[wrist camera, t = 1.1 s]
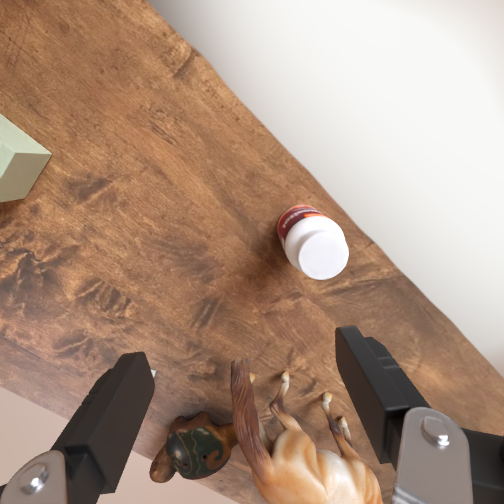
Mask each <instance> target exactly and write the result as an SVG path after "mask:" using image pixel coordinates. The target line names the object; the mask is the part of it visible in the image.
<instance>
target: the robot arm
mask: <svg viewBox="0 0 504 504" xmlns="http://www.w3.org/2000/svg"><path fill="white" fill-rule="evenodd" d="M335 345H336V363H337V367H338V370H339V373H340V375H341V378H342V380H343V382H344V384H345V387H346V389H347V391H348V393H349V396H350V398H351V400H352V402H353V404H354V407H355V409H356V411H357V413H358V416H359V418H360V420H361V422H362V425H363V427H364V429H365V431H366V434H367V436H368V438H369V440H370V442H371V445H372V447H373V449H374V451H375V454H376V456H377V458H378V460H379V463H380V464H384V463H392V465H393V467H394V469H395V471H396V477H395V484H394V490H393V495H392V501H391V504H504V436H498V435H493V434H487V433H482V432H477V431H472V430H468V429H464V428H461V427H459V426H458V425H457V424H456V423H455V422H454V421H453V420H452V419H450V418H449V417H448V416H446V415H444V414H443V413H441V412H439V411H437V410H434V409H432V408H431V407H430V406H429V405H428V403H427V402H426V401H425V399H424V398H423V397H422V395H421V394H420V393H419V391H418V390H417V389H416V387H415V386H414V385H413V383H412V382H411V381H410V379H409V378H408V377H407V376H406V374H405V373H404V372H403V370H402V369H401V368H399V365H398V364H397V362H396V361H395V360H394V359H393V358H392V356H391V354H390V353H389V352H388V350H387V349H386V348H385V346H384V345H382V344H381V343H380V342H378V341H377V340H375V339H374V338H372V337H367V338H364V337H363V336H362V334H361V333H360V331H359V330H358V328H357V327H356V326H346V327H338V328H336V330H335ZM154 387H155V383H154V378H153V375H152V372H151V369H150V366H149V363H148V361H147V358H146V355H145V353H144V352H134V353H126V354H123V355H122V356H121V357H120V358H119V360H118V361H117V363H116V365H115V366H114V368H112V369H109V370H108V371H107V372H106V373H104V374H103V375H102V376H101V377H100V378H99V379H98V380H97V381H96V383H95V384H94V386H93V387H92V389H91V390H90V392H89V395H87V396H86V398H85V399H84V401H83V402H82V405H81V406H79V408H78V409H77V411H76V412H75V414H74V415H73V417H72V418H71V420H70V421H69V423H68V424H67V426H66V427H65V429H64V430H63V432H62V433H61V435H60V436H59V437H58V439H57V441H56V442H55V443H54V445H53V446H52V448H51V449H50V451H47V452H45V453H42V454H40V455H38V456H36V457H35V458H33V459H32V460H30V461H29V462H28V463H26V464H25V465H24V466H23V467H22V468H21V469H19V470H18V471H17V472H16V474H15V475H14V476H13V477H12V478H11V479H10V481H9V482H8V483H7V484H5V485H2V486H0V504H96V503H97V500H98V498H99V496H100V494H107V493H115V490H116V488H117V485H118V483H119V480H120V478H121V475H122V473H123V470H124V467H125V465H126V463H127V460H128V457H129V455H130V452H131V450H132V447H133V445H134V442H135V440H136V437H137V435H138V432H139V430H140V427H141V424H142V422H143V419H144V417H145V414H146V412H147V409H148V407H149V404H150V402H151V399H152V397H153V393H154Z"/></svg>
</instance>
